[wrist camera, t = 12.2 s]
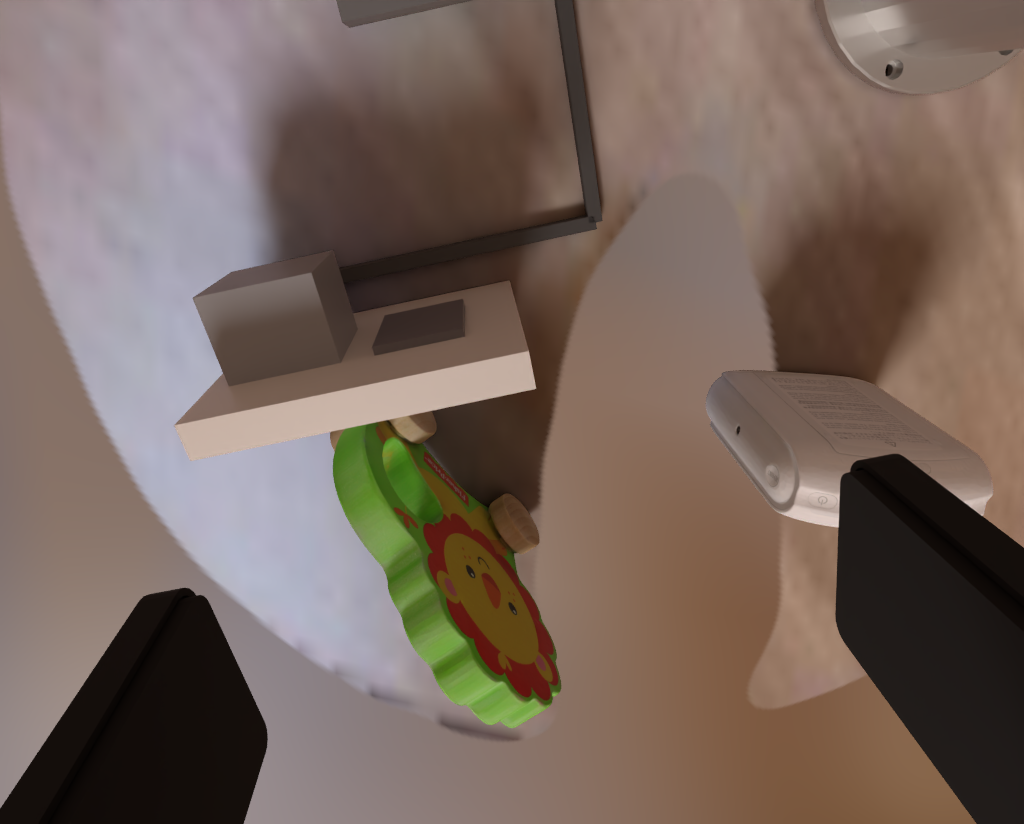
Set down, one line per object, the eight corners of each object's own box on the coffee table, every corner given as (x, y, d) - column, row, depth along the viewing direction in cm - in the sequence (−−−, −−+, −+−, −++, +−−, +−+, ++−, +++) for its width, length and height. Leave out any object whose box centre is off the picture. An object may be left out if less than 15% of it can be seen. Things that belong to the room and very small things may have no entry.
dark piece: (566, -21, 31) (578, -38, 27) (600, 225, 35) (614, 236, 32) (227, 54, 31) (200, 47, 28) (305, 288, 36) (289, 306, 32)
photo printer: (696, 428, 41) (784, 548, 30) (710, 363, 39) (810, 463, 28) (854, 436, 42) (998, 555, 30) (875, 373, 40) (1035, 473, 29)
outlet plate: (494, 205, 35) (508, 247, 24) (515, 308, 37) (536, 388, 26) (234, 261, 35) (129, 327, 24) (271, 359, 37) (190, 460, 26)
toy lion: (330, 419, 39) (256, 585, 25) (400, 364, 38) (363, 507, 24) (496, 584, 45) (509, 795, 31) (561, 541, 44) (605, 740, 30)
